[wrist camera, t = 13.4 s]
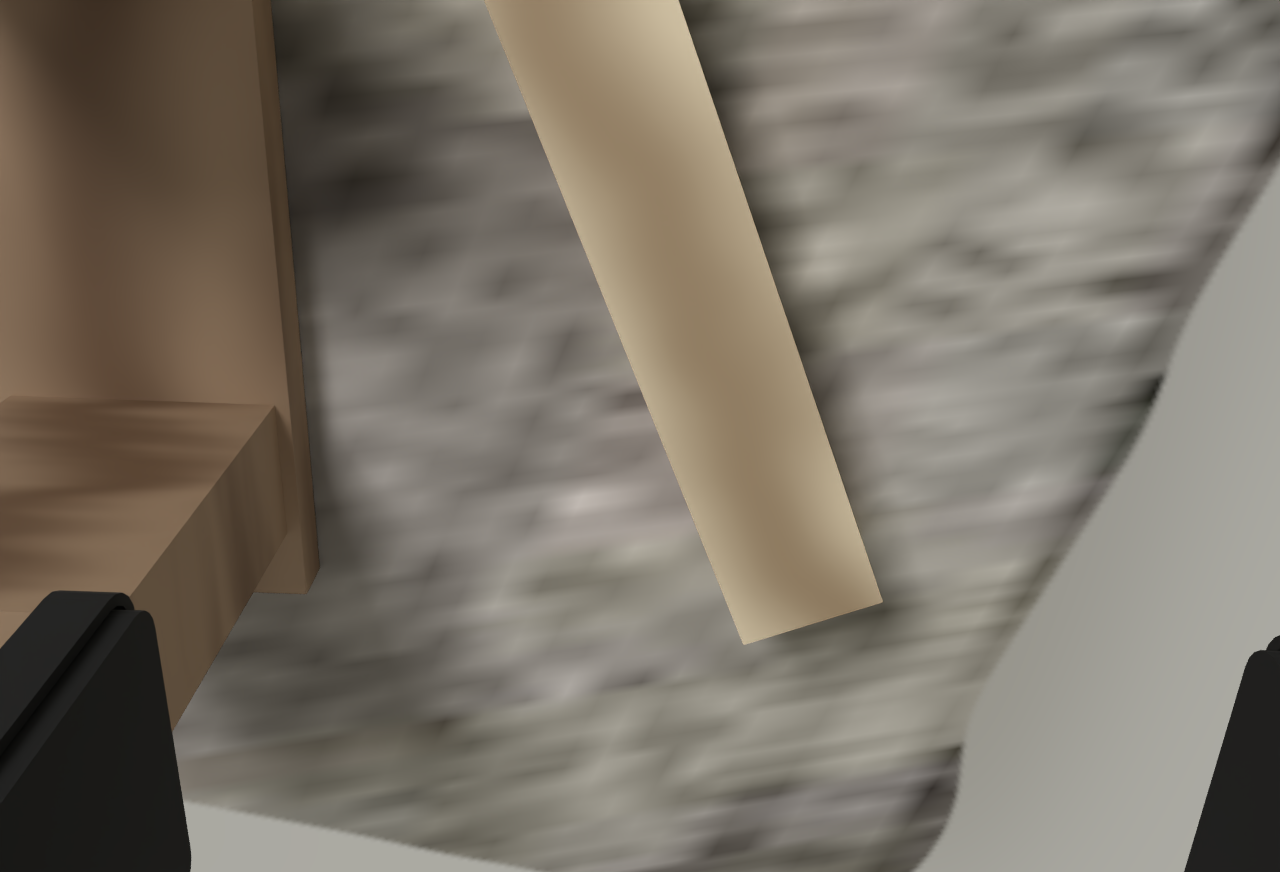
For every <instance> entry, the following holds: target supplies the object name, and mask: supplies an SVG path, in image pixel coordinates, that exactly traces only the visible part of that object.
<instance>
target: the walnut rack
mask: <svg viewBox="0 0 1280 872" xmlns="http://www.w3.org/2000/svg"><path fill="white" fill-rule="evenodd" d="M319 569H320V565H319V553H318V542H317V530H316V518H315V507H314V495H313V484H312V472H311V460H310V449H309V437H308V426H307V414H306V403H305V391H304V379H303V368H302V356H301V345H300V333H299V322H298V310H297V298H296V287H295V275H294V264H293V252H292V241H291V229H290V217H289V206H288V194H287V183H286V171H285V159H284V148H283V136H282V125H281V113H280V102H279V90H278V78H277V67H276V55H275V44H274V32H273V21H272V9H271V0H0V648H1V647H2V646H3V645H4V644H5V642H6V641H7V640H8V639H9V638H10V637H11V636H12V634H13V633H14V632H15V631H16V630H17V629H18V628H19V626H20V625H21V624H22V623H23V622H24V621H25V619H26V618H27V617H28V616H29V615H30V614H31V613H32V611H33V610H34V609H35V608H36V607H37V606H38V605H39V603H40V602H41V601H42V600H43V599H44V598H45V597H46V596H47V595H48V594H50V593H51V592H53V591H59V590H65V591H93V592H121V593H124V594H126V595H128V596H129V598H130V599H131V601H132V603H133V605H134V608H135V610H145V611H147V612H149V613H150V614H151V616H152V618H153V620H154V624H155V628H156V635H157V641H158V647H159V654H160V660H161V666H162V672H163V679H164V685H165V691H166V698H167V704H168V710H169V716H170V723H171V729H172V731H173V730H174V728H175V726H176V724H177V723H178V721H179V719H180V718H181V716H182V714H183V712H184V711H185V709H186V707H187V705H188V704H189V702H190V700H191V699H192V697H193V695H194V693H195V692H196V690H197V688H198V687H199V685H200V683H201V681H202V680H203V678H204V676H205V674H206V673H207V671H208V669H209V668H210V666H211V664H212V662H213V661H214V659H215V657H216V656H217V654H218V652H219V650H220V649H221V647H222V645H223V644H224V642H225V640H226V638H227V637H228V635H229V633H230V631H231V630H232V628H233V626H234V625H235V623H236V621H237V619H238V618H239V616H240V614H241V613H242V611H243V609H244V607H245V606H246V604H247V602H248V600H249V599H250V597H251V595H252V594H253V592H261V593H289V594H307V593H308V591H309V589H310V587H311V585H312V583H313V581H314V579H315V577H316V575H317V573H318V571H319Z"/></svg>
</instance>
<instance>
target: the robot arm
mask: <svg viewBox="0 0 1280 872" xmlns="http://www.w3.org/2000/svg"><path fill="white" fill-rule="evenodd" d="M190 869H191V850H190V842H189V836H188V830H187V824H186V817H185V811H184V804H183V798H182V792H181V786H180V779H179V773H178V767H177V760H176V754H175V748H174V742H173V735H172V729H171V723H170V716H169V710H168V704H167V698H166V691H165V685H164V679H163V672H162V666H161V660H160V654H159V647H158V641H157V635H156V628H155V624H154V620H153V618H152V616H151V614H150V613H149V612H147V611H145V610H135V608H134V605H133V603H132V601H131V599H130V598H129V596H128V595H126V594H124V593H121V592H93V591H65V590H59V591H53V592H51V593H50V594H48V595H47V596H46V597H45V598H44V599H43V600H42V601H41V602H40V603H39V605H38V606H37V607H36V608H35V609H34V610H33V611H32V613H31V614H30V615H29V616H28V617H27V618H26V619H25V621H24V622H23V623H22V624H21V625H20V626H19V628H18V629H17V630H16V631H15V632H14V633H13V634H12V636H11V637H10V638H9V639H8V640H7V641H6V642H5V644H4V645H3V646H2V647H1V648H0V872H190ZM1184 872H1280V636H1277V637H1275V638H1274V639H1273V640H1272V641H1271V642H1270V643H1269V645H1268V647H1267V649H1266V650H1260V651H1257V652H1254V653H1253V654H1252V655H1251V656H1250V658H1249V659H1248V662H1247V664H1246V666H1245V670H1244V673H1243V676H1242V680H1241V683H1240V687H1239V690H1238V693H1237V697H1236V700H1235V703H1234V707H1233V710H1232V714H1231V717H1230V720H1229V723H1228V727H1227V730H1226V733H1225V737H1224V740H1223V744H1222V747H1221V750H1220V754H1219V757H1218V760H1217V764H1216V767H1215V771H1214V774H1213V777H1212V780H1211V784H1210V787H1209V790H1208V794H1207V797H1206V800H1205V804H1204V807H1203V811H1202V814H1201V817H1200V821H1199V824H1198V827H1197V831H1196V834H1195V837H1194V841H1193V844H1192V848H1191V852H1190V854H1189V858H1188V861H1187V864H1186V868H1185V871H1184Z"/></svg>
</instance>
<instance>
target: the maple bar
mask: <svg viewBox="0 0 1280 872" xmlns="http://www.w3.org/2000/svg"><path fill="white" fill-rule="evenodd" d="M484 1H485V4H486V6H487V9H488V11H489V14H490V16H491V19H492V21H493V24H494V26H495V29H496V31H497V34H498V36H499V39H500V41H501V44H502V46H503V48H504V51H505V53H506V56H507V58H508V61H509V63H510V66H511V68H512V71H513V73H514V76H515V78H516V81H517V83H518V86H519V88H520V91H521V93H522V96H523V98H524V101H525V103H526V106H527V108H528V111H529V113H530V116H531V118H532V121H533V123H534V125H535V128H536V130H537V133H538V135H539V138H540V140H541V143H542V145H543V148H544V150H545V153H546V155H547V158H548V160H549V163H550V165H551V168H552V170H553V173H554V175H555V178H556V180H557V183H558V185H559V188H560V190H561V193H562V195H563V198H564V200H565V203H566V205H567V207H568V210H569V212H570V215H571V217H572V220H573V222H574V225H575V227H576V230H577V232H578V235H579V237H580V240H581V242H582V245H583V247H584V250H585V252H586V255H587V257H588V260H589V262H590V265H591V267H592V270H593V272H594V275H595V277H596V280H597V282H598V285H599V287H600V289H601V292H602V294H603V297H604V299H605V302H606V304H607V307H608V309H609V312H610V314H611V317H612V319H613V322H614V324H615V327H616V329H617V332H618V334H619V337H620V339H621V342H622V344H623V347H624V349H625V352H626V354H627V357H628V359H629V362H630V364H631V367H632V369H633V371H634V374H635V376H636V379H637V381H638V384H639V386H640V389H641V391H642V394H643V396H644V399H645V401H646V404H647V406H648V409H649V411H650V414H651V416H652V419H653V421H654V424H655V426H656V429H657V431H658V434H659V436H660V439H661V441H662V444H663V446H664V449H665V451H666V453H667V456H668V458H669V461H670V463H671V466H672V468H673V471H674V473H675V476H676V478H677V481H678V483H679V486H680V488H681V491H682V493H683V496H684V498H685V501H686V503H687V506H688V508H689V511H690V513H691V516H692V518H693V521H694V523H695V526H696V528H697V531H698V533H699V535H700V538H701V540H702V543H703V545H704V548H705V550H706V553H707V555H708V558H709V560H710V563H711V565H712V568H713V570H714V573H715V575H716V578H717V580H718V583H719V585H720V588H721V590H722V593H723V595H724V598H725V600H726V603H727V605H728V608H729V610H730V613H731V615H732V617H733V620H734V622H735V625H736V627H737V630H738V632H739V635H740V637H741V640H742V642H743V645H745V644H749V643H752V642H755V641H758V640H762V639H765V638H768V637H771V636H775V635H778V634H781V633H785V632H788V631H791V630H794V629H798V628H801V627H804V626H807V625H811V624H814V623H817V622H820V621H824V620H827V619H830V618H833V617H837V616H840V615H843V614H846V613H850V612H853V611H856V610H860V609H863V608H866V607H869V606H873V605H876V604H879V603H882V602H883V600H882V597H881V594H880V592H879V589H878V586H877V583H876V580H875V577H874V574H873V571H872V568H871V565H870V562H869V559H868V556H867V553H866V550H865V547H864V544H863V541H862V538H861V535H860V532H859V529H858V526H857V523H856V520H855V517H854V514H853V512H852V509H851V506H850V503H849V500H848V497H847V494H846V491H845V488H844V485H843V482H842V479H841V476H840V473H839V470H838V467H837V464H836V461H835V459H834V456H833V453H832V450H831V447H830V444H829V441H828V438H827V435H826V432H825V429H824V426H823V423H822V420H821V417H820V414H819V411H818V409H817V406H816V403H815V400H814V397H813V394H812V391H811V388H810V385H809V382H808V379H807V376H806V373H805V370H804V367H803V364H802V361H801V359H800V356H799V353H798V350H797V347H796V344H795V341H794V338H793V335H792V332H791V329H790V326H789V323H788V320H787V317H786V314H785V311H784V309H783V306H782V303H781V300H780V297H779V294H778V291H777V288H776V285H775V282H774V279H773V276H772V273H771V270H770V267H769V264H768V261H767V258H766V256H765V253H764V250H763V247H762V244H761V241H760V238H759V235H758V232H757V229H756V226H755V223H754V220H753V217H752V214H751V211H750V208H749V206H748V203H747V200H746V197H745V194H744V191H743V188H742V185H741V182H740V179H739V176H738V173H737V170H736V167H735V164H734V161H733V158H732V156H731V153H730V150H729V147H728V144H727V141H726V138H725V135H724V132H723V129H722V126H721V123H720V120H719V117H718V114H717V111H716V108H715V106H714V103H713V100H712V97H711V94H710V91H709V88H708V85H707V82H706V79H705V76H704V73H703V70H702V67H701V64H700V61H699V58H698V55H697V53H696V50H695V47H694V44H693V41H692V38H691V35H690V32H689V29H688V26H687V23H686V20H685V17H684V14H683V11H682V8H681V5H680V3H679V0H484Z"/></svg>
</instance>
